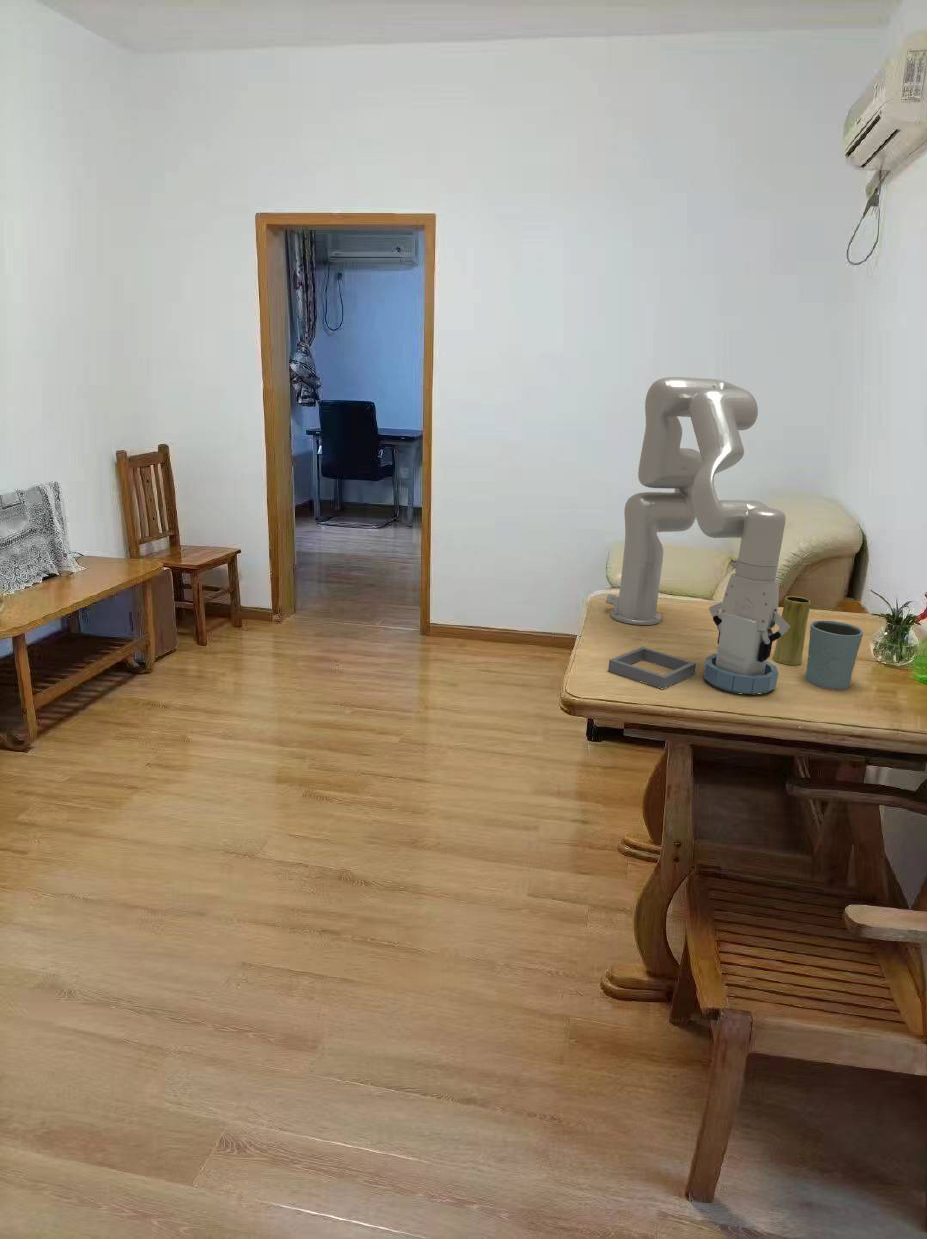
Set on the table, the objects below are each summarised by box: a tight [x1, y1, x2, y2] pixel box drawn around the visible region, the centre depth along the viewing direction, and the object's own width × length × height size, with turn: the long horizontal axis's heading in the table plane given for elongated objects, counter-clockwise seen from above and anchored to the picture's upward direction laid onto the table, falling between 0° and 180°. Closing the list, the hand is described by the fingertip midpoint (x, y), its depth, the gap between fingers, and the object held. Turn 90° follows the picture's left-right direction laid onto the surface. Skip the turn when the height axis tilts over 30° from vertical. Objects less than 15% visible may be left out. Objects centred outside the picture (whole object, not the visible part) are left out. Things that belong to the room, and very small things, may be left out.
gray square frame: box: [607, 646, 697, 690], centre depth 178 cm, size 13×13×2 cm
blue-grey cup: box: [805, 620, 864, 691], centre depth 177 cm, size 10×10×12 cm
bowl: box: [703, 653, 779, 695], centre depth 175 cm, size 14×14×4 cm
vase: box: [772, 595, 812, 666], centre depth 188 cm, size 6×6×14 cm
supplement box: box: [715, 613, 768, 676], centre depth 173 cm, size 7×7×13 cm
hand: (742, 654), depth 174 cm, fingers closed on supplement box, 8 cm apart
